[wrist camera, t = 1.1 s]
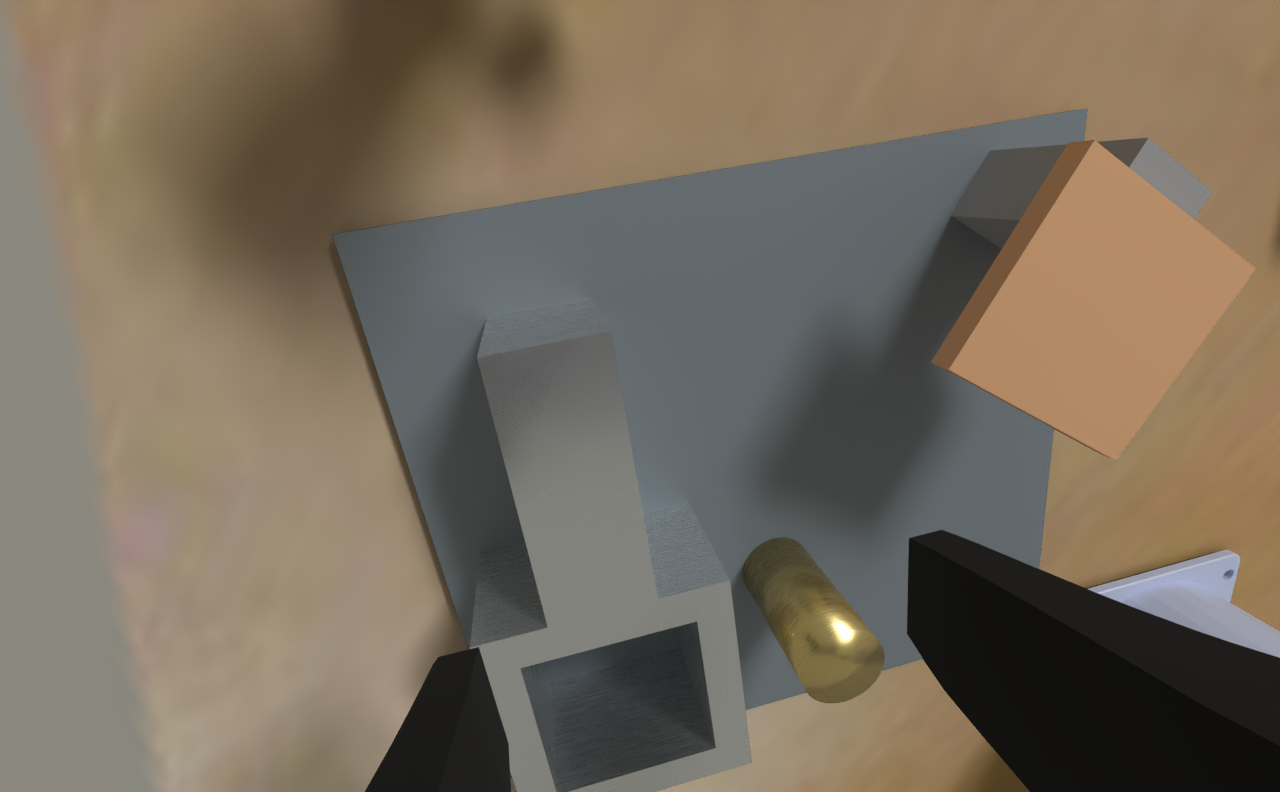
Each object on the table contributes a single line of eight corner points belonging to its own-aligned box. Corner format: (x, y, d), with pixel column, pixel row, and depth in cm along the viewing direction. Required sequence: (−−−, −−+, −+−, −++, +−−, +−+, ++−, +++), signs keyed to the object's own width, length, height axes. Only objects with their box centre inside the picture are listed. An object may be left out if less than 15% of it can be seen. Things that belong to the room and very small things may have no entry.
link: (711, 662, 21) (752, 762, 17) (527, 713, 20) (529, 829, 17) (657, 285, 16) (697, 313, 13) (413, 331, 16) (381, 376, 12)
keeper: (938, 121, 17) (1125, 90, 12) (1071, 217, 19) (1285, 227, 13) (825, 317, 18) (948, 369, 13) (960, 389, 20) (1115, 460, 15)
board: (1025, 620, 24) (1033, 626, 24) (510, 767, 22) (510, 777, 21) (1075, 110, 17) (1087, 108, 17) (336, 233, 15) (332, 234, 14)
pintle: (810, 587, 21) (884, 689, 17) (745, 604, 21) (804, 713, 16) (806, 530, 20) (884, 622, 16) (739, 547, 20) (799, 645, 16)
